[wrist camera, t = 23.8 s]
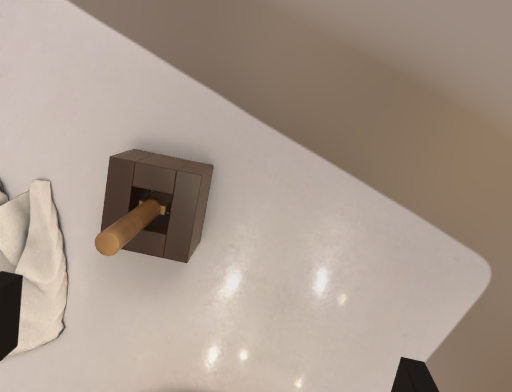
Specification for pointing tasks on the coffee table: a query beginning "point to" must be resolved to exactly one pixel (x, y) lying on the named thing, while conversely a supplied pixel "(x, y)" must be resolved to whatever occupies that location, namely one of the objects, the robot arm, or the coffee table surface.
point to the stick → (132, 223)
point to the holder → (166, 181)
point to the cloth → (35, 262)
